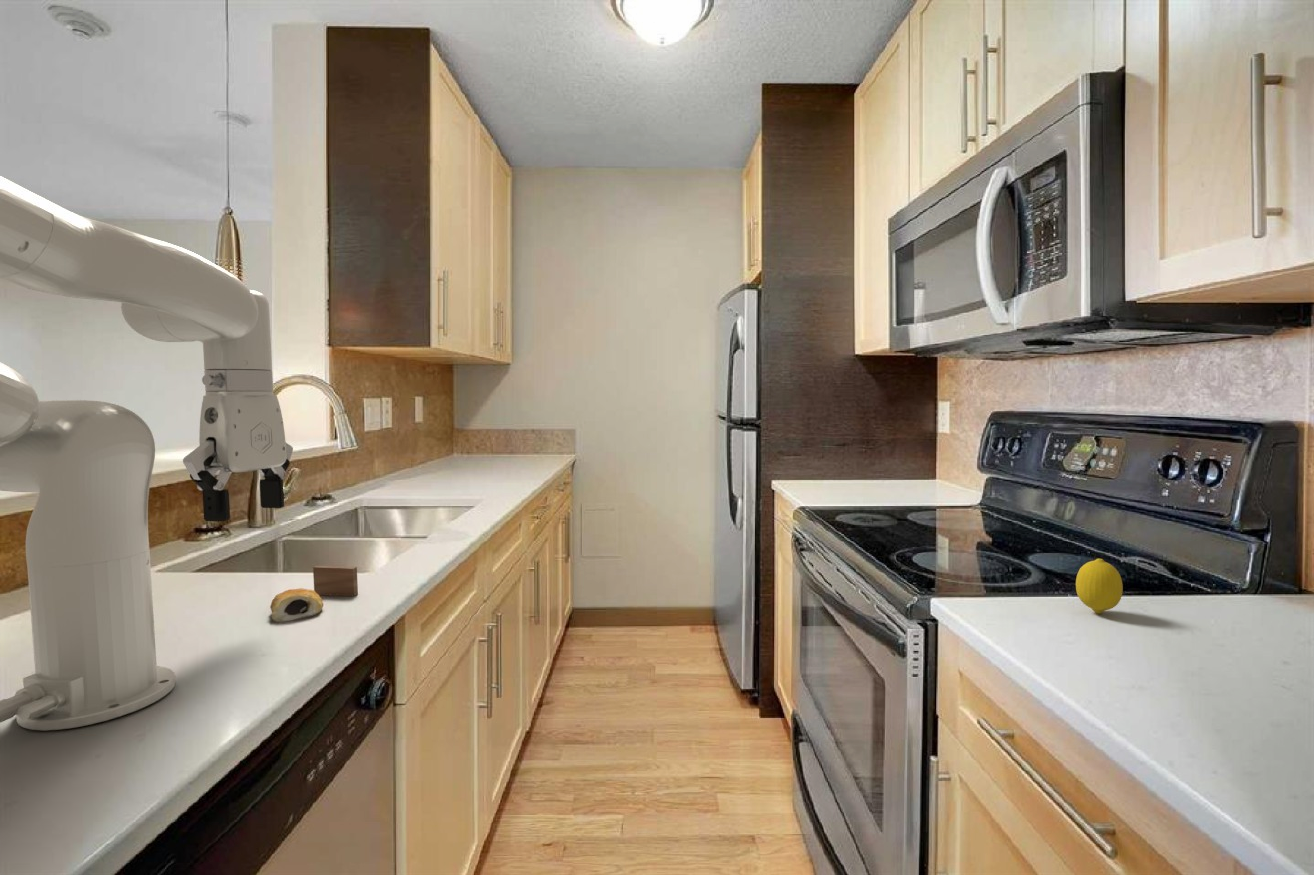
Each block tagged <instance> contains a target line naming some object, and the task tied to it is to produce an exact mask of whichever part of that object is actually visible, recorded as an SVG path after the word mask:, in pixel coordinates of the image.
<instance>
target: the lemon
mask: <svg viewBox="0 0 1314 875" xmlns="http://www.w3.org/2000/svg"><path fill="white" fill-rule="evenodd" d="M1123 587H1124V586H1123V580H1122V577H1121V575H1120V573H1119V571H1118V570H1117V568H1115V566H1113V565H1112V564H1111V563H1109V562H1106V561H1105V560H1104V559H1103V558H1096V559H1095V560H1091V561H1088V562H1086V563H1085V564H1084V563H1083V565H1082V566H1081V567H1079V570H1078V572H1077V575H1076V579H1075V590H1076V594H1077V597H1078V598H1079V600H1080V602H1082V603H1083V604H1084V605H1085V606H1086V607H1088V608H1090V609H1091V610H1092V611H1093V612H1094V614H1099V615H1100V614H1102V613H1103V612H1105V611H1108V610H1111V609H1113V608H1115V607H1117V605H1118V604H1119V603H1120V601H1121V599H1122V595H1123V589H1124V588H1123Z"/></svg>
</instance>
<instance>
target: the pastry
mask: <svg viewBox="0 0 1314 875" xmlns="http://www.w3.org/2000/svg"><path fill="white" fill-rule="evenodd" d="M269 606H270V607H269V608H270V610H271V615H270V617H271V618H272V620H273V621H274V622H275V621H276V622H277V623H280V622H284V623H285V622H291V621H294V620H299V619H303V618H309V617H314V616H315V615H318V614H319V613H320V612H322V610H323V607H324V602H323V599H322V597H321V595H319V594H317V593H316V592H315V591H314V589H307V588H304V587H300V588H294V589H293V588H292V589H288V590H284V591H283V592H280V593H278V594H276V595H275V596H274V598H273V599H272V600H271V604H270V605H269Z"/></svg>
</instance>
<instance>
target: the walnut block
mask: <svg viewBox="0 0 1314 875" xmlns="http://www.w3.org/2000/svg"><path fill="white" fill-rule="evenodd" d="M312 570H313V571H312V575H313V591H315V592H316V593H317V594H319V596H336V597H337V596H339V597H356V596H358V595H359V592H358V591H359V589H358V588H359V587H358V585H359V584H358V567H357V566H341V565H339V566H337V565H335V566H334V565H333V566H332V565H316V566H313V567H312Z"/></svg>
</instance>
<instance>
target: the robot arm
mask: <svg viewBox="0 0 1314 875" xmlns="http://www.w3.org/2000/svg"><path fill="white" fill-rule="evenodd" d="M0 278H1V279H3V280H5V281H8V282H10V283H13V284H16V285H18V286H21V287H24V288H27V289H29V290H33V291H35V292H36V291H37V292H41V293H46V294H50V295H56V296H61V297H67V298H73V299H83V300H84V299H85V300H92V301H103V302H105V301H106V302H114V303H115V302H116V303H121V306H120V307H121V314H122V316H123V318H124V320H125V322H126V323H127V325H128V326H129V327H130V328H131V329H133V331H135V332H136V333H138V334H139V335H141V336H142V337H145V338H147V339H149V340H153V341H157V342H164V343H184V342H185V343H189V342H200V343H202V350H203V368H204V375H203V376H202V378H201V382H202V384H203V385H204V390H205V395H203V396H202V402H201V409H200V418H199V440H198V441H199V446H197V447H196V448H195V449H193V450H192V451H191V452H189V453H188V454H187V455H185V456H184V458H182V463H183V465H184V467H185V468H186V470H187V472H188V473H189V478H190V480H192V481H193V482H194V483H195V484H196V486H197V489H198V490H199V491H201V492H202V505H203V519H204V521H206V522H228V521H229V520H230V519H231V512H230V511H231V510H230V509H231V507H230V493H229V489H228V488H227V489H225V486H226V484H227V483H228V481H229V479H230V477H231V475H232V473H245V472H253V471H258V472H259V473H260V475H261V476H262V477H263V479H262V478H261V479H259V494H260V495H259V496H260V507H261V508H264V509H281V508H284V506H285V502H284V501H285V496H284V479H286V477H287V470H288V468H289V467H290V464H291V463H290V462H291V461H290V460H291V457H292V454H293V451H294V447H293V446H292V445H290V444H289V443H287V442H286V432H285V426H284V419H283V414H282V413H283V412H282V409H281V405H280V402H279V398H278V395H276V394H275V395H274V384H273V383H274V380H273V379H274V378H273V363H272V357H273V356H272V342H271V341H272V340H271V339H272V338H271V318H270V315H271V314H270V304H269V301H268V298H267V297H266V295H265V294H263V293H262V292H259V291H257V290H253V289H250V288H248V286H247V285H246V284H245V283H244V282H243V281H242V280H240V278H238V277H237V276H235V275H234V274H232V273H230V272H229V271H227V270H226V269H224V268H222V267H220V266H219V265H217V264H215V263H213V262H211V261H210V260H208V259H206V258H204V257H202V256H200V255H199V254H196V253H194V252H192V251H190V250H187V249H185V248H183V247H180V246H177V245H174V244H172V243H170V242H169V243H168V242H166V241H163V240H159V239H156V238H153V237H151V236H150V237H149V236H147V235H143V234H141V233H137V232H134V231H131V230H127V229H126V228H122V227H119V226H116V225H113V224H110V223H106V222H103V221H99V220H97V219H96V220H95V219H92V218H88V217H85V216H84V215H83V216H82V215H80V214H77V213H75V212H72V211H71V210H68V209H66V208H65V207H62V206H60V205H58V204H56V203H54V202H52V201H50V200H48V199H46V198H44V197H43V196H41V195H38V194H37V193H35V192H32V191H30V190H28V189H27V188H24V187H23V186H21V185H19V184H17V183H15V182H13V181H11V180H10V179H8V178H5V177H4V176H2V175H0ZM155 443H156V442H155V439H154V435H153V432H152V431H151V429H150V427H149V425H148V424H147V422H145V420H144V419H143V418H141V416H140V415H138V414H136V412H134V411H133V410H130V409H127V408H126V407H124V406H121V405H119V404H116V403H110V402H106V401H100V400H99V401H98V400H85V399H84V400H81V399H80V400H78V399H77V400H67V399H66V400H45V401H44V400H43V401H42V400H41V401H40V399H39V396H38V394H37V392H36V390H35V389H34V387H33V386H32V384H30V382H29V381H28V380H27V379H26V378H25V377H24V375H22V374H20V373H19V371H16V369H14V368H12V367H10V366H8V365H7V364H5V363H3V362H2V361H0V491H1V492H14V493H35V494H36V493H38V498H37V501H36V502H35V506H34V508H33V510H32V512H31V516H30V518H29V521H28V523H27V524H28V525H27V530H26V534H25V559H26V560H25V561H26V566H27V567H26V568H27V580H28V593H29V594H28V596H29V606H30V620H31V621H30V622H31V633H32V645H33V660H34V673H33V674H31V675H28V676H24V677H23V678H22V682H23V688H20V689H18V690H17V691H16V692H15V694H14V695H13V696H11V697H9V698H8V697H7V698H4V699H0V723H3V722H6V721H7V720H10V719H12V718H14V716H16V723H17V724H18V726H20V727H22V728H24V729H27V730H32V731H59V730H67V729H74V728H79V727H84V726H90V725H95V724H98V723H99V724H100V723H103V722H107V721H111V720H113V719H117V718H120V717H122V716H126V715H129V714H131V713H134V712H136V711H139V710H142V709H143V708H146V707H148V706H150V705H151V704H154V703H156V702H158V701H160V700H161V699H162V698H164V697H165V696H166V695H168V694H169V693H170V692H171V691H173V689H174V688H175V686H176V673H175V672H174V670H172V669H171V668H168V667H165V666H159V665H158V664H157V651H156V650H157V648H156V635H155V634H156V633H155V632H156V631H155V620H154V619H155V618H154V616H155V615H154V600H153V588H152V587H153V586H152V583H153V582H152V570H151V568H152V567H151V553H150V552H151V551H150V550H151V549H150V540H149V520H148V519H149V518H148V517H149V516H148V515H149V509H148V508H149V494H150V488H151V487H150V486H151V480H152V475H153V471H154V465H155V464H154V463H155V459H156V457H155V456H156V446H155V445H156V444H155ZM216 475H217V476H216ZM215 476H216V477H215Z"/></svg>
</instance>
